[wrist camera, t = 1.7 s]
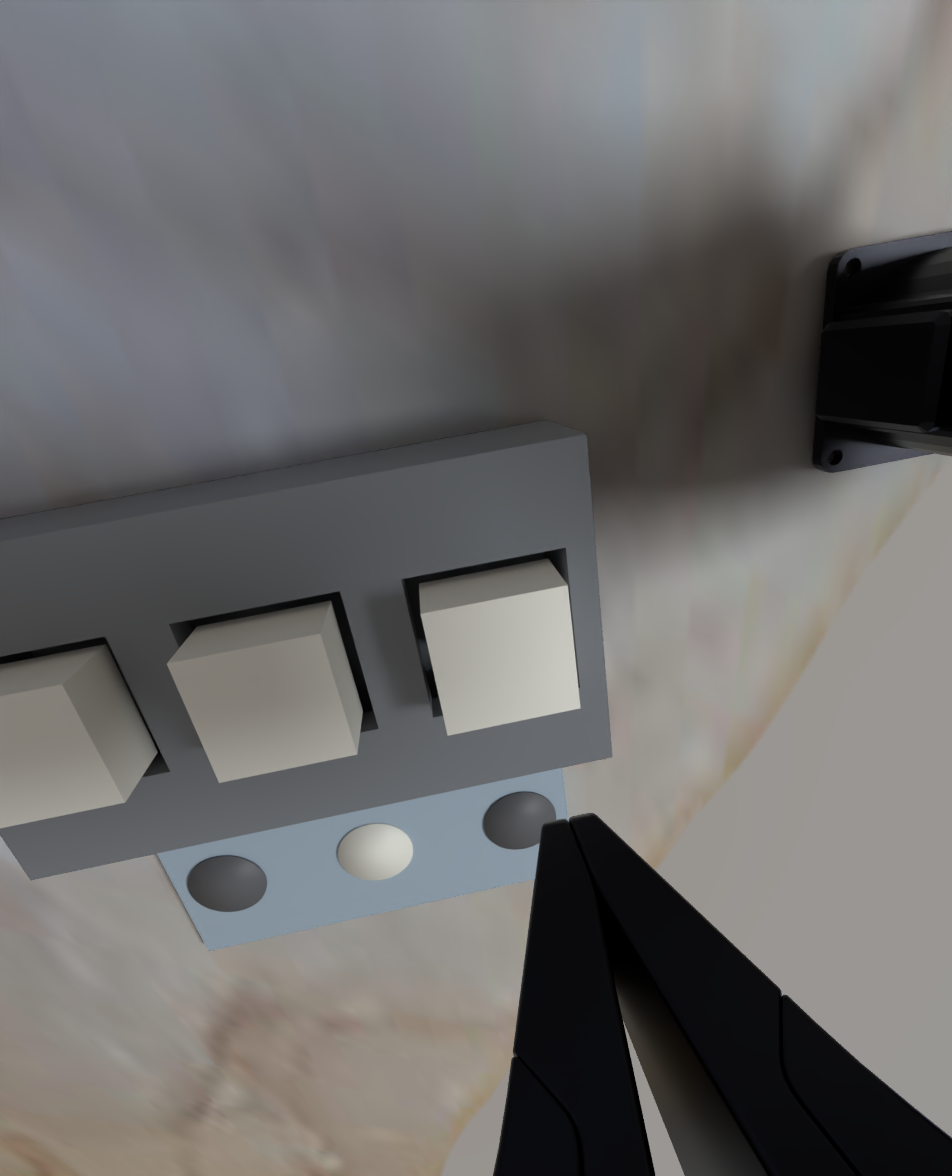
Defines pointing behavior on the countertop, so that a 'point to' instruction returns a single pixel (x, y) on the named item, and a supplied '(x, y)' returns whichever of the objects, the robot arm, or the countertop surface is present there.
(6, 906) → the countertop surface
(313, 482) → the button board
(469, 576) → the button
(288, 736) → the button middle
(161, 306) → the countertop surface
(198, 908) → the pattern card
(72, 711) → the button
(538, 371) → the countertop surface
